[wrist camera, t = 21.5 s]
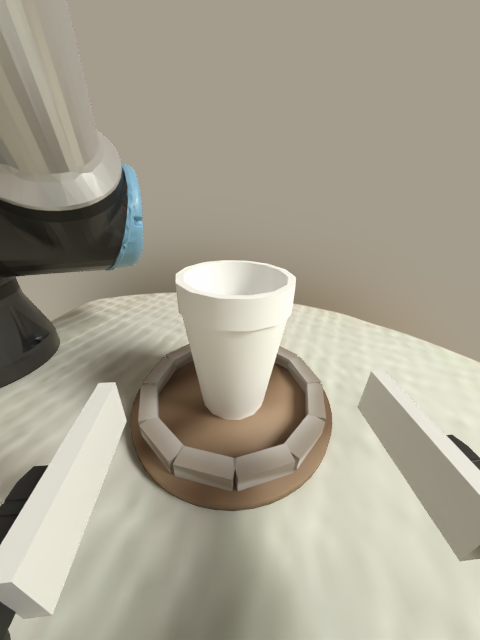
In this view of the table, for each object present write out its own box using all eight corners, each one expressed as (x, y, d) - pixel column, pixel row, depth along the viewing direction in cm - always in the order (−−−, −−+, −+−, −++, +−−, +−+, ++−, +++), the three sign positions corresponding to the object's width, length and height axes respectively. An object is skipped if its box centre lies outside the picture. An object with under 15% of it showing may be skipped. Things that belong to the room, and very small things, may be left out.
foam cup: (206, 360, 30) (201, 256, 23) (280, 372, 28) (296, 264, 22) (172, 423, 22) (150, 290, 15) (273, 446, 20) (294, 307, 14)
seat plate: (98, 401, 25) (91, 384, 24) (231, 332, 38) (231, 318, 37) (236, 599, 13) (237, 584, 12) (360, 399, 26) (366, 382, 25)
